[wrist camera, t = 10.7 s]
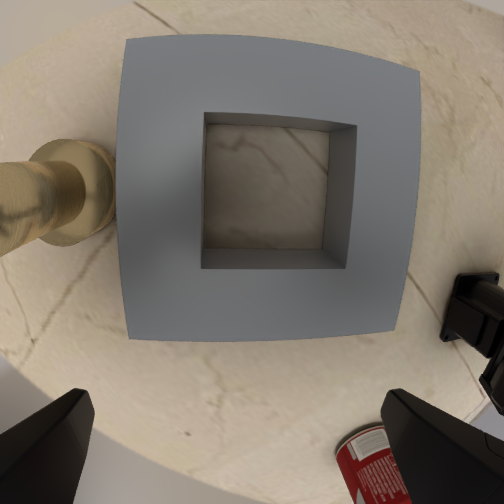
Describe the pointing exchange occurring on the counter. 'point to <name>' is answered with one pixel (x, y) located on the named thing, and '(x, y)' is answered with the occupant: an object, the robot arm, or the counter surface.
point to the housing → (193, 178)
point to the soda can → (371, 469)
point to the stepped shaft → (57, 194)
